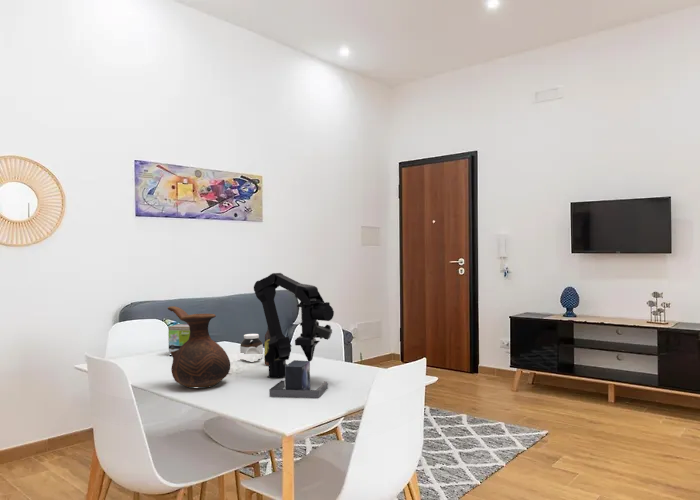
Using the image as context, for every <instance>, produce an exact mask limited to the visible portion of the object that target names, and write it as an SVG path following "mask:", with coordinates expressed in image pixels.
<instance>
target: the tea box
mask: <svg viewBox="0 0 700 500" xmlns="http://www.w3.org/2000/svg"><path fill="white" fill-rule="evenodd" d="M167 332H168V333H167V335H168V355H169V354H171V353H170V352H171V351H172V352H173V351H176V350H178V349H180V347H181V346H182V345H183V344H184V343H185V342H187V341H188V339H189V336H190V328H189V325H188V324H187V323H176V324H174V325H171V326H168V331H167ZM171 355H172V354H171Z"/></svg>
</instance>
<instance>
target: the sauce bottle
mask: <svg viewBox="0 0 700 500" xmlns="http://www.w3.org/2000/svg"><path fill="white" fill-rule="evenodd" d="M269 341H270V333H269V329H268V327H267V330H266V332H265V335H264V350H263V355H264V356H265V355H266V354H267V352H268V351H269V346H268V344H269ZM263 359H264V366H269V362H265V358H264V357H263Z"/></svg>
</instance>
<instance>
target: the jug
mask: <svg viewBox="0 0 700 500" xmlns="http://www.w3.org/2000/svg"><path fill="white" fill-rule="evenodd" d="M167 310H168V311H169V312H173V313H174V314H175V315H176V317H178V319H179V320H180V321H182V322H184V323H185V324H188V325H189V328H190V336H189V339H188V341H187V342H185V343H184V344H183V345H182V346H181V347H180V349H178V350H176V351H173V352H172V351H171V352H170V353H171V354H172V356H171V357H172V363H171V368H170V369H171V376H172V377H173V380H174V382H175V383H178V384H180V385H183V386H185V387H186V386H187V387H186V388H188V387H207V388H210V387H209V386H212V387H214V386H216V385H218V384H219V383H220V382H221V381H222V380H224V379H225V378H226V377H227V376H228V375H229V373H230V370H231V361H230V358H229V356H228V354H227V352H226V351H225V349H224V348H223V347H222V346H221V345H220V344H218V342H216V341H215V340H213V339H212V338H211V336H210V331H209V325H210V321H211V320H212V319H214V318H216V314H214V313H194V314H192V313H191V314H188V313H187V312H186V311H185V310H184V309H182V308H180V307H178V306H175V305H174V306H168V307H167ZM213 385H214V386H213Z"/></svg>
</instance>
